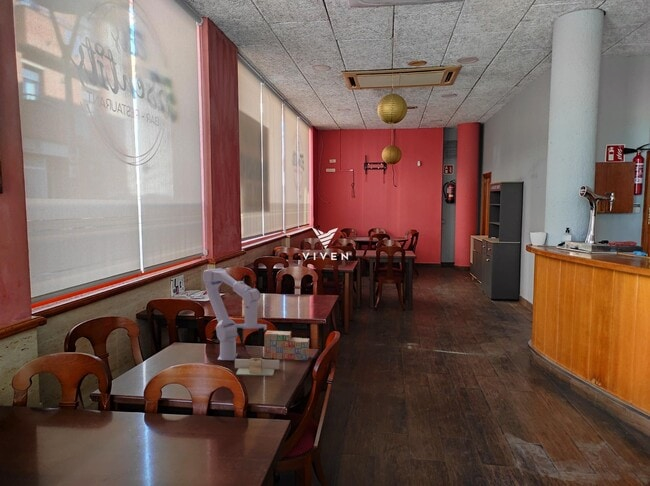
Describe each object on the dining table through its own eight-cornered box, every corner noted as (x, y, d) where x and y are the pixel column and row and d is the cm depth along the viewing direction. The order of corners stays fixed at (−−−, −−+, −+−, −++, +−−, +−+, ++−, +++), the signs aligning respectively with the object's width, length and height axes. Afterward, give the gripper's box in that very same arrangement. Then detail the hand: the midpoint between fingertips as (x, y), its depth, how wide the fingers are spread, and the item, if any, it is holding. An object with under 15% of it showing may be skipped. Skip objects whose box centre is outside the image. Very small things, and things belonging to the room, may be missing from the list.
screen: (235, 367, 201) (235, 358, 200) (279, 368, 201) (279, 359, 201) (234, 368, 200) (234, 359, 199) (279, 369, 200) (279, 360, 200)
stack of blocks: (309, 356, 219) (309, 332, 218) (307, 361, 213) (307, 335, 212) (266, 354, 221) (267, 330, 220) (263, 358, 215) (264, 333, 214)
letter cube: (250, 368, 198) (251, 357, 198) (261, 369, 198) (262, 357, 198) (249, 372, 193) (249, 361, 193) (260, 373, 193) (260, 361, 193)
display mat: (238, 369, 199) (238, 368, 199) (274, 369, 199) (274, 368, 199) (236, 374, 192) (236, 373, 192) (273, 375, 192) (273, 374, 192)
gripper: (233, 317, 200) (233, 346, 201) (265, 317, 200) (265, 347, 201) (236, 313, 207) (235, 341, 208) (267, 314, 207) (266, 342, 208)
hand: (250, 344), depth 205 cm, fingers open, 7 cm apart
